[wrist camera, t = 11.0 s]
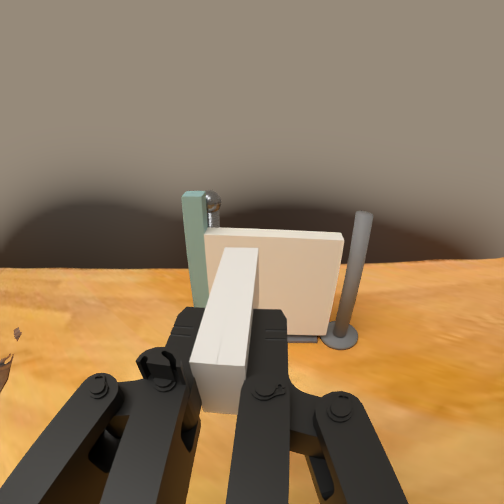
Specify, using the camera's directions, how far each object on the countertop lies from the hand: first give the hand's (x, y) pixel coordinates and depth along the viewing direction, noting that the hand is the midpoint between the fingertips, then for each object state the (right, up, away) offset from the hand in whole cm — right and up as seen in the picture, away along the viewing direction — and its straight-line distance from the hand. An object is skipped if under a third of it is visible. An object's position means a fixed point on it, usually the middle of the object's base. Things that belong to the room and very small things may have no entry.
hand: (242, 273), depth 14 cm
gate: (+3, -9, +22) cm, 24 cm away
